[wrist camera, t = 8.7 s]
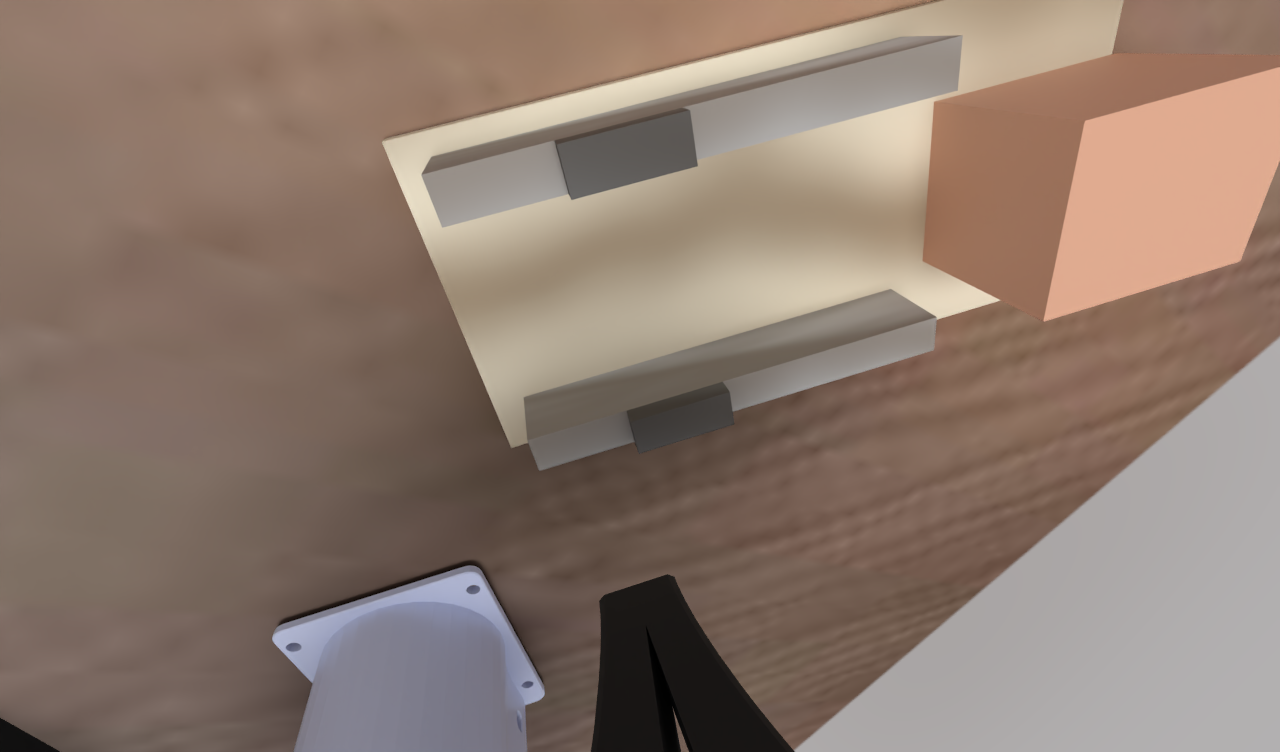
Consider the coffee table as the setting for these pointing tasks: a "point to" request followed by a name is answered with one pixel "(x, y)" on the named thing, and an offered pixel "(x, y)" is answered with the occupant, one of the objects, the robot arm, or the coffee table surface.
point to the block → (1102, 177)
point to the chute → (714, 221)
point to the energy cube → (20, 740)
